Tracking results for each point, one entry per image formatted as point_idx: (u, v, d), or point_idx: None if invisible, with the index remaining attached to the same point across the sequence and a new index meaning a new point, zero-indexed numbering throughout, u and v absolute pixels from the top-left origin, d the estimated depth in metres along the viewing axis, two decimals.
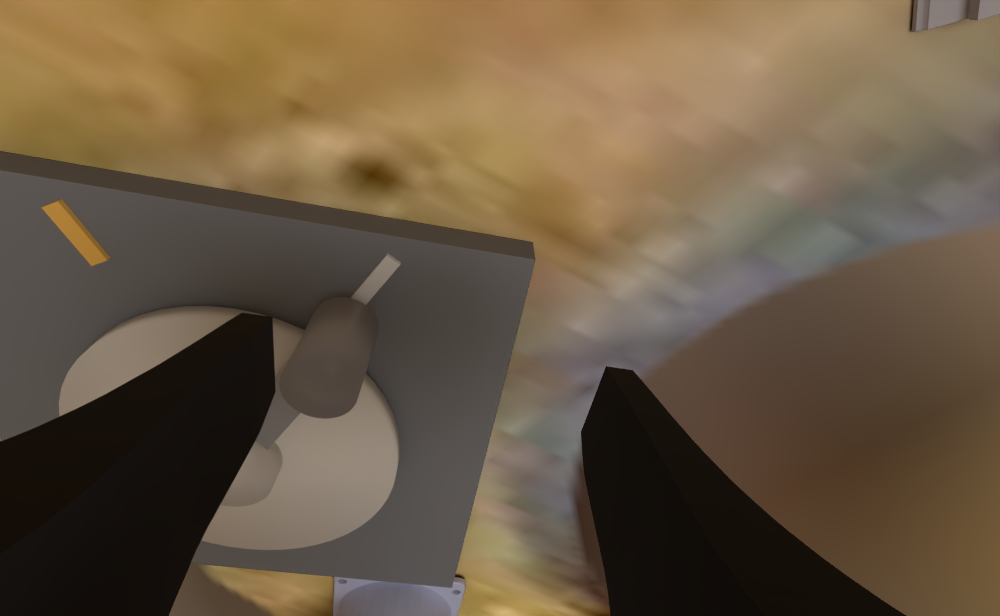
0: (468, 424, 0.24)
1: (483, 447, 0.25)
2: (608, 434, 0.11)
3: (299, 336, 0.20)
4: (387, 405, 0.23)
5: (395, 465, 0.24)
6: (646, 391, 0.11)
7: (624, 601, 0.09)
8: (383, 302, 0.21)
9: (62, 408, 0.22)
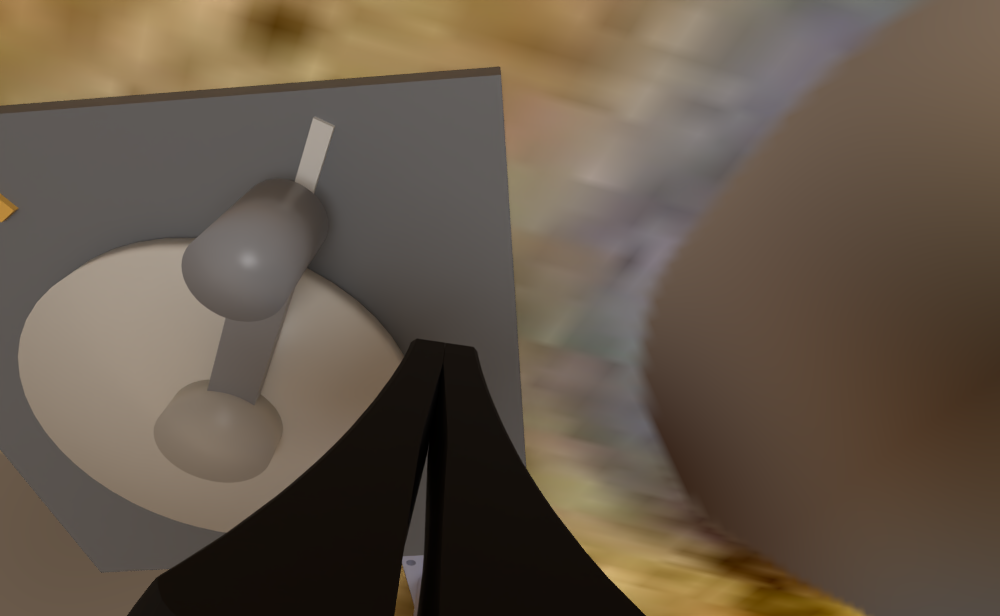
0: (487, 334, 0.19)
1: (514, 361, 0.20)
2: (436, 411, 0.10)
3: None
4: (380, 326, 0.19)
5: None
6: (473, 366, 0.10)
7: (423, 582, 0.09)
8: (333, 189, 0.16)
9: (31, 401, 0.19)
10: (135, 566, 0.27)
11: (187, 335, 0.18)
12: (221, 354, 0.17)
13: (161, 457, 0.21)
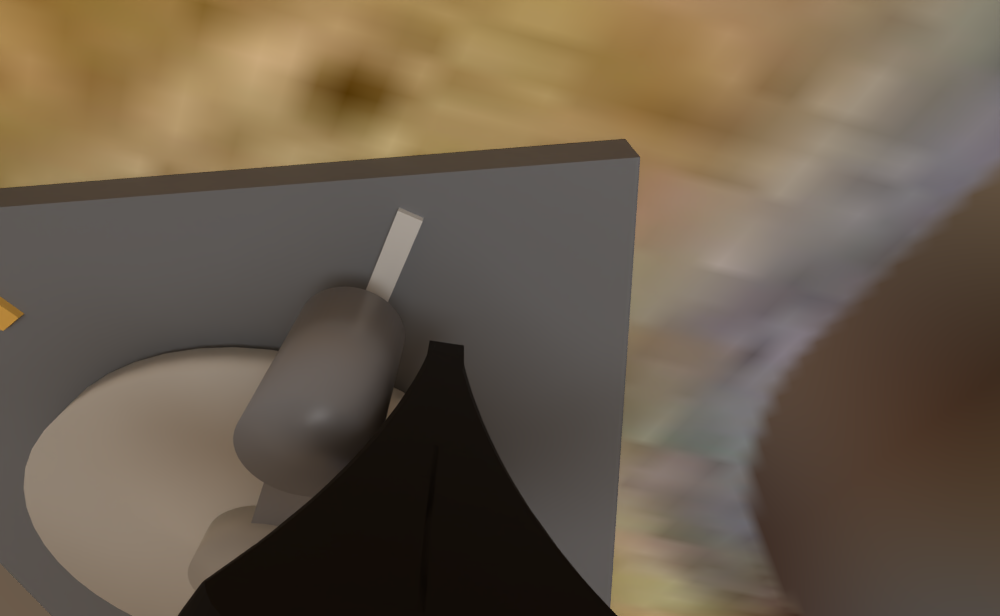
0: (584, 444, 0.16)
1: (613, 472, 0.17)
2: None
3: None
4: None
5: None
6: (456, 363, 0.10)
7: None
8: (414, 289, 0.13)
9: (41, 533, 0.16)
10: None
11: (226, 460, 0.14)
12: (269, 485, 0.14)
13: None
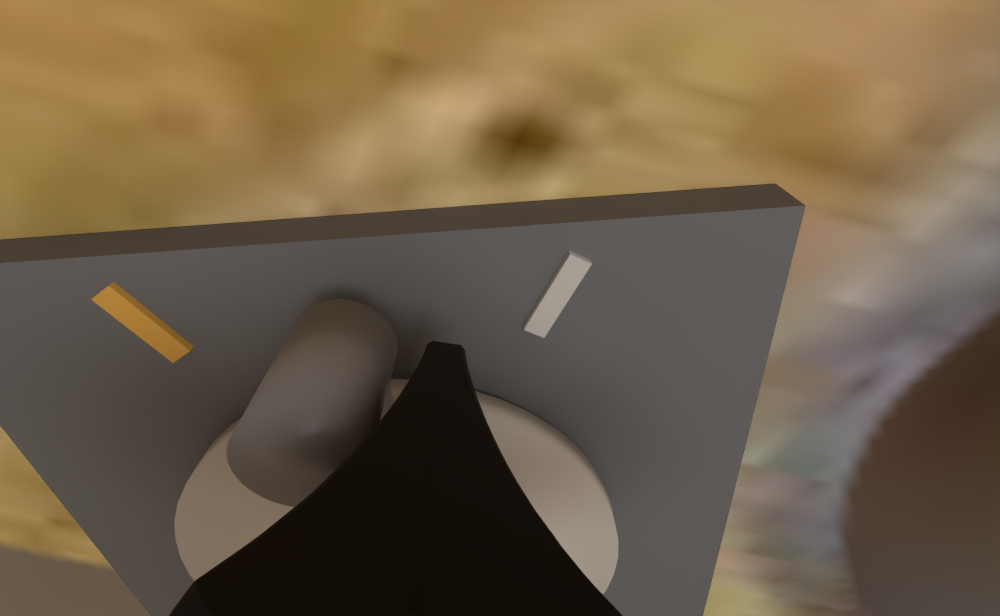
0: (704, 468, 0.17)
1: (727, 494, 0.18)
2: None
3: None
4: (511, 407, 0.15)
5: (584, 477, 0.15)
6: (459, 363, 0.10)
7: None
8: (569, 326, 0.14)
9: None
10: None
11: None
12: None
13: None
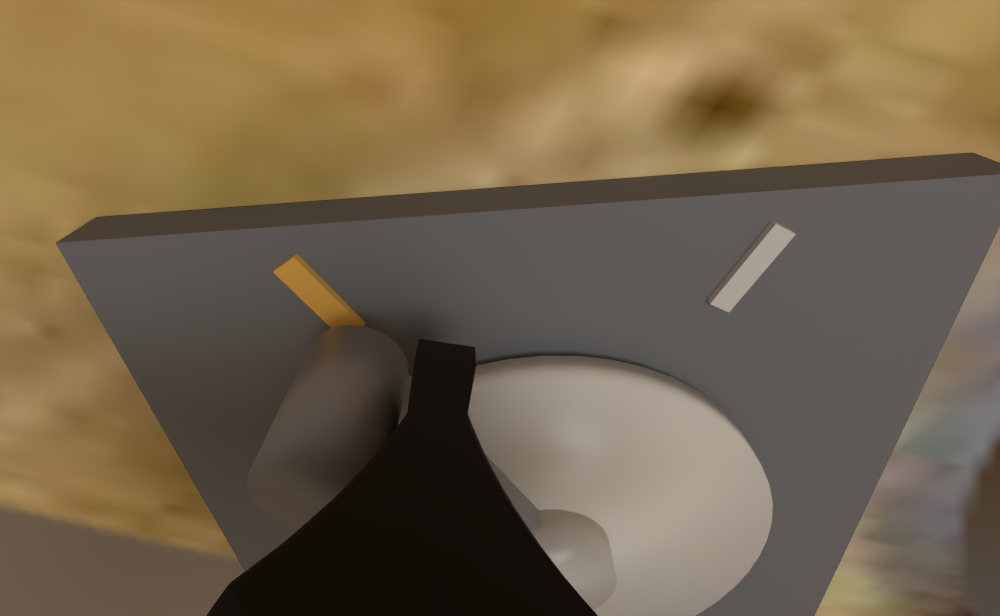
0: (857, 449, 0.17)
1: (874, 476, 0.17)
2: (408, 407, 0.10)
3: None
4: (556, 359, 0.14)
5: (666, 398, 0.13)
6: (444, 361, 0.10)
7: None
8: (754, 300, 0.13)
9: None
10: None
11: None
12: None
13: None
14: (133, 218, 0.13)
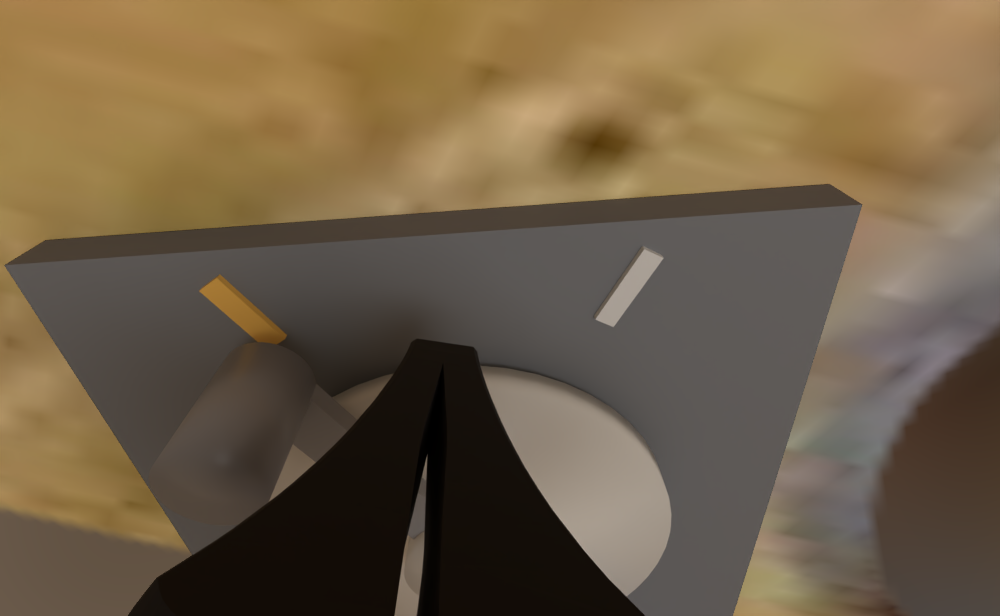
0: (751, 451, 0.18)
1: (771, 476, 0.19)
2: (436, 411, 0.10)
3: None
4: None
5: (553, 402, 0.15)
6: (472, 365, 0.10)
7: (422, 581, 0.09)
8: (636, 315, 0.15)
9: None
10: None
11: None
12: None
13: None
14: (77, 242, 0.15)
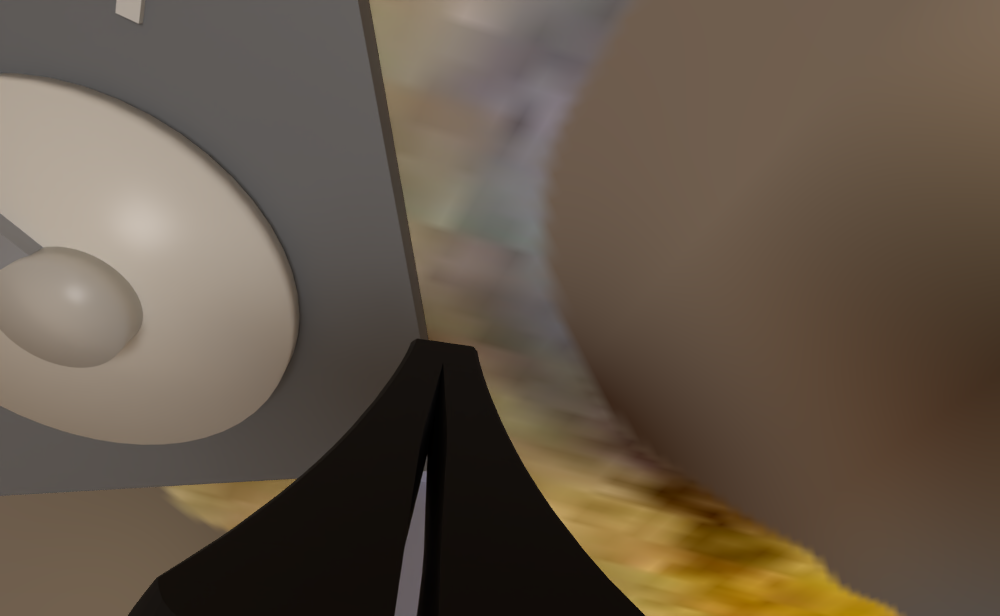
0: (361, 202, 0.18)
1: (396, 237, 0.18)
2: (436, 411, 0.10)
3: None
4: None
5: (78, 101, 0.15)
6: (472, 365, 0.10)
7: (422, 581, 0.09)
8: (163, 13, 0.15)
9: (27, 416, 0.21)
10: (23, 489, 0.25)
11: None
12: None
13: (123, 382, 0.20)
14: None
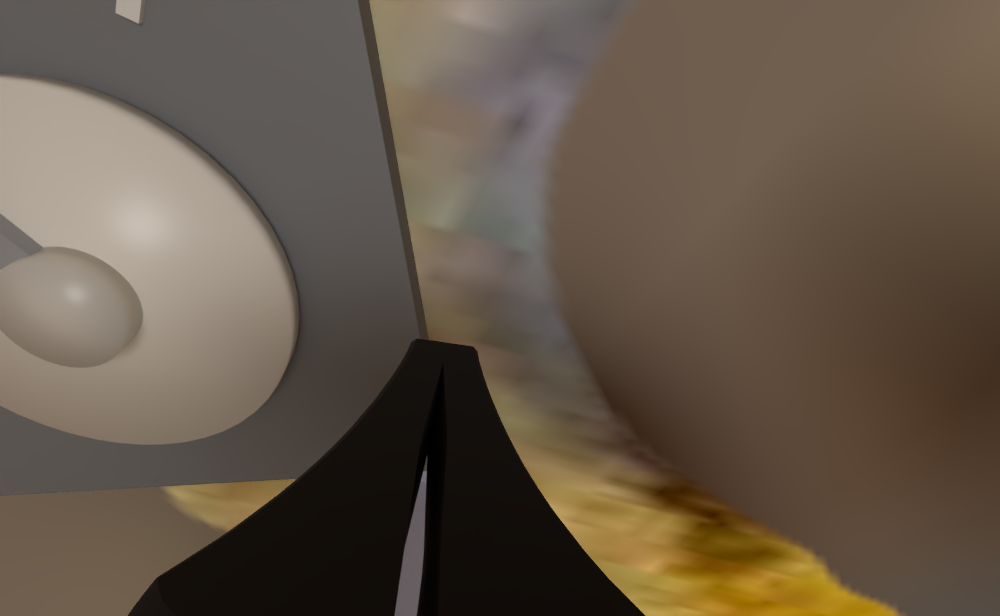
0: (361, 202, 0.18)
1: (396, 237, 0.18)
2: (436, 411, 0.10)
3: None
4: None
5: (78, 101, 0.15)
6: (472, 365, 0.10)
7: (422, 581, 0.09)
8: (163, 13, 0.15)
9: (27, 416, 0.21)
10: (23, 489, 0.25)
11: None
12: None
13: (123, 382, 0.20)
14: None
